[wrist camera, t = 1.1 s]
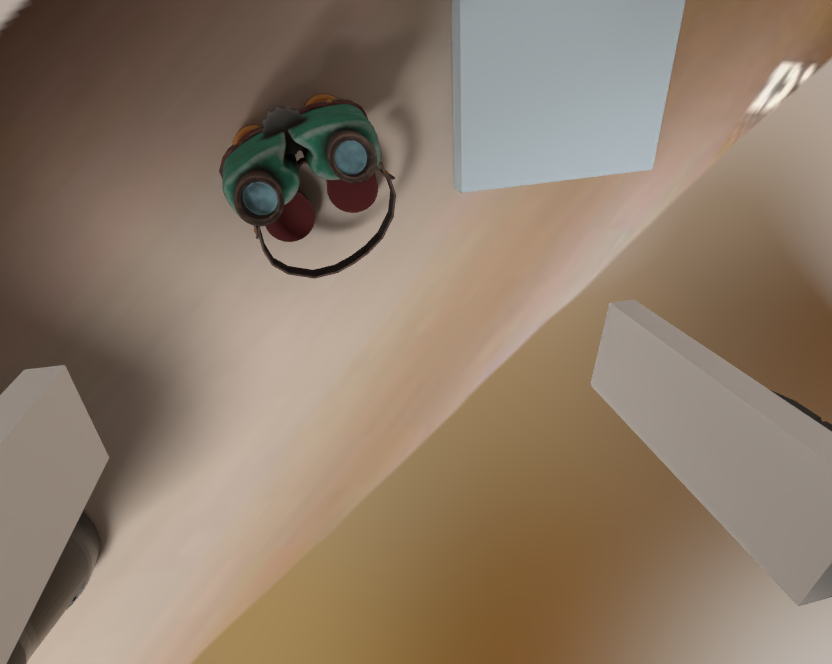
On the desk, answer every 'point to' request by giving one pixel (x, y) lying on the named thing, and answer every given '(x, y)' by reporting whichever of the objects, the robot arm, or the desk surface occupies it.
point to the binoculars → (327, 158)
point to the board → (558, 88)
